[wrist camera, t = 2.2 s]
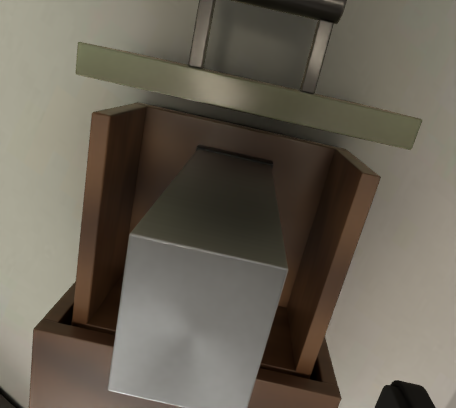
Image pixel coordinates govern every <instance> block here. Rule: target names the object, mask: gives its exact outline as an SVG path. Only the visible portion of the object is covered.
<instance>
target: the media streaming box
mask: <svg viewBox="0 0 456 408" xmlns="http://www.w3.org/2000/svg"><path fill="white" fill-rule="evenodd" d="M0 408H15V407H14V406H13V405H12V404H11V403H9V402H8V401H7V400H6V399H5V398H4V397H3V396H2V395H1V394H0Z"/></svg>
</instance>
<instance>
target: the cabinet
mask: <svg viewBox="0 0 456 408" xmlns="http://www.w3.org/2000/svg"><path fill="white" fill-rule="evenodd" d="M75 285H76V282H75V283H74V284H73V285H72V286H71V287H70V288H69V290H68V291H67V292H66V293H65V294H64V295H63V296H62V297H61V299H60V300H59V301H58V302H57V303H56V304H55V305H54V307H53V308H52V309H51V310H50V311H49V312H48V313H47V314H46V316H45V317H44V318H43V319H42V320H41V321H40V322H39V323H38V324H37V326H36V327H35V328H34V330H33V346H32V364H31V381H30V398H29V408H184V407H180V406H175V405H171V404H166V403H162V402H157V401H153V400H149V399H144V398H140V397H135V396H131V395H126V394H122V393H117V392H113V391H109V390H108V383H109V375H110V368H111V361H112V354H113V347H114V340H115V335H110V334H106V333H101V332H97V331H93V330H88V329H84V328H79V327H75V326H71V323H72V317H73V306H74V296H75ZM340 401H341V395H340V391H339V388H338V386H337V381H336V377H335V374H334V370H333V366H332V362H331V358H330V355H329V351H328V347H327V343H326V339H325V336H324V339H323V342H322V345H321V347H320V350H319V353H318V356H317V359H316V361H315V364H314V367H313V370H312V373H311V376H310V378H309V379H305V378H301V377H297V376H292V375H288V374H283V373H279V372H274V371H270V370H266V369H261V368H259V370H258V374H257V377H256V380H255V384H254V387H253V391H252V394H251V397H250V401H249V404H248V407H247V408H338V406H339V403H340Z"/></svg>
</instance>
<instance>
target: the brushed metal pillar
mask: <svg viewBox="0 0 456 408" xmlns="http://www.w3.org/2000/svg"><path fill="white" fill-rule="evenodd" d="M272 168H273V161H271V160H266V159H262V158H257V157H253V156H249V155H244V154H240V153H235V152H231V151H226V150H222V149H218V148H213V147H209V146H204V145H200V144H199V145H198V146H197V147H196V152H195V154H194V155H193V156H192V157H191V159H190V160H189V161H188V162H187V164H186V165H185V166H184V167H183V169H182V170H181V171H180V172H179V173H178V175H177V176H176V177H175V178H174V180H173V181H172V182H171V183H170V185H169V186H168V187H167V188H166V190H165V191H164V192H163V193H162V195H161V196H160V197H159V198H158V199H157V201H156V202H155V203H154V204H153V206H152V207H151V208H150V209H149V211H148V212H147V213H146V214H145V216H144V217H143V218H142V219H141V221H140V222H139V223H138V224H137V225H136V227H135V228H134V229H133V230H132V232H131V233H130V234H129V241H128V248H127V255H126V262H125V269H124V276H123V284H122V291H121V298H120V305H119V312H118V319H117V326H116V333H115V340H114V347H113V354H112V361H111V368H110V375H109V383H108V390H109V391H113V392H117V393H122V394H126V395H131V396H135V397H140V398H144V399H149V400H153V401H157V402H162V403H166V404H171V405H175V406H180V407H184V408H247V407H248V404H249V401H250V397H251V394H252V391H253V387H254V384H255V380H256V377H257V374H258V370H259V367H260V364H261V360H262V357H263V354H264V350H265V347H266V344H267V340H268V337H269V333H270V330H271V327H272V323H273V320H274V317H275V313H276V310H277V307H278V303H279V300H280V297H281V293H282V290H283V286H284V283H285V280H286V276H287V273H288V265H287V259H286V253H285V247H284V241H283V235H282V229H281V223H280V217H279V211H278V205H277V199H276V193H275V187H274V181H273V175H272Z"/></svg>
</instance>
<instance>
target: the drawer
mask: <svg viewBox="0 0 456 408" xmlns="http://www.w3.org/2000/svg"><path fill="white" fill-rule="evenodd" d="M231 1H235V2H239V3H244V4H248V5H253V6H257V7H262V8H266V9H270V10H275V11H279V12H284V13H288V14H293V15H297V16H301V17H306V18H310V19H315V20H319V21H318V22H317V26H316V30H315V34H314V38H313V41H312V45H311V49H310V53H309V57H308V60H307V64H306V68H305V72H304V76H303V79H302V83H301V87H300V90H296V89H292V88H287V87H283V86H279V85H274V84H270V83H265V82H261V81H256V80H252V79H248V78H243V77H239V76H234V75H230V74H225V73H221V72H217V71H212V70H208V69H203V68H204V62H205V57H206V51H207V46H208V40H209V35H210V29H211V24H212V18H213V13H214V7H215V2H216V0H199V5H198V11H197V17H196V23H195V29H194V35H193V41H192V47H191V53H190V59H189V65H186V64H181V63H177V62H172V61H168V60H164V59H159V58H155V57H150V56H146V55H141V54H137V53H132V52H127V51H122V50H117V49H112V48H107V47H102V46H97V45H92V44H87V43H82V42H78V49H77V61H76V74H77V75H81V76H85V77H90V78H94V79H98V80H103V81H107V82H112V83H116V84H121V85H125V86H129V87H134V88H138V89H143V90H147V91H152V92H156V93H160V94H165V95H169V96H174V97H178V98H183V99H187V100H191V101H196V102H200V103H205V104H209V105H214V106H218V107H222V108H227V109H231V110H236V111H240V112H245V113H249V114H253V115H258V116H262V117H267V118H271V119H276V120H280V121H284V122H289V123H293V124H298V125H302V126H307V127H311V128H315V129H320V130H324V131H329V132H333V133H338V134H342V135H346V136H351V137H355V138H360V139H364V140H369V141H373V142H377V143H382V144H386V145H391V146H395V147H399V148H404V149H408V150H411V149H412V147H413V144H414V142H415V139H416V136H417V133H418V131H419V128H420V125H421V123H422V120H421V119H419V118H415V117H411V116H407V115H403V114H399V113H395V112H391V111H387V110H383V109H379V108H375V107H372V106H367V105H363V104H358V103H354V102H349V101H345V100H341V99H336V98H332V97H327V96H323V95H318V94H314V93H315V89H316V86H317V82H318V78H319V75H320V71H321V68H322V64H323V60H324V57H325V53H326V49H327V46H328V42H329V39H330V35H331V31H332V28H333V24H337V23H338V22H339V20H340V18H341V16H342V14H343V11H344V8H345V5H346V1H347V0H231ZM199 144H200V145H204V146H209V147H213V148H218V149H222V150H226V151H231V152H235V153H240V154H244V155H249V156H253V157H257V158H262V159H266V160H271V161H273V168H272V175H273V181H274V187H275V193H276V199H277V205H278V211H279V217H280V223H281V229H282V235H283V241H284V247H285V253H286V259H287V265H288V273H287V276H286V280H285V283H284V286H283V290H282V293H281V297H280V300H279V303H278V307H277V310H276V313H275V317H274V320H273V323H272V327H271V330H270V333H269V337H268V340H267V344H266V347H265V350H264V354H263V357H262V360H261V364H260V367H259V368H261V369H266V370H270V371H274V372H279V373H283V374H288V375H292V376H297V377H301V378H305V379H309V378H310V376H311V373H312V370H313V367H314V364H315V361H316V359H317V356H318V353H319V350H320V347H321V345H322V342H323V339H324V336H325V333H326V330H327V328H328V325H329V322H330V319H331V316H332V314H333V311H334V308H335V305H336V302H337V299H338V297H339V294H340V291H341V288H342V285H343V282H344V280H345V277H346V274H347V271H348V268H349V266H350V263H351V260H352V257H353V254H354V251H355V249H356V246H357V243H358V240H359V237H360V235H361V232H362V229H363V226H364V223H365V220H366V218H367V215H368V212H369V209H370V206H371V204H372V201H373V198H374V195H375V192H376V189H377V187H378V184H379V181H380V178H381V177H380V176H379V175H377V174H376V173H375V172H374V171H373V170H371V169H370V168H369V167H368V166H366V165H365V164H364V163H363V162H361V161H360V160H359V159H358V158H356V157H355V156H354V155H353V154H351V153H350V152H349V151H347V150H346V149H343V148H338V147H334V146H329V145H325V144H321V143H316V142H312V141H307V140H303V139H298V138H294V137H290V136H285V135H281V134H276V133H272V132H267V131H263V130H259V129H254V128H250V127H245V126H241V125H236V124H232V123H228V122H223V121H219V120H214V119H210V118H205V117H201V116H197V115H192V114H188V113H183V112H179V111H174V110H170V109H166V108H161V107H157V106H152V105H148V104H143V103H139V102H137V103H133V104H128V105H124V106H119V107H114V108H110V109H105V110H100V111H96V112H93V113H92V119H91V130H90V140H89V150H88V161H87V171H86V182H85V192H84V202H83V213H82V223H81V233H80V244H79V254H78V265H77V275H76V285H75V296H74V306H73V317H72V323H71V326H75V327H79V328H84V329H88V330H93V331H97V332H101V333H106V334H110V335H115V333H116V326H117V319H118V312H119V305H120V298H121V291H122V284H123V276H124V269H125V262H126V255H127V248H128V241H129V234H130V233H131V232H132V230H133V229H134V228H135V227H136V225H137V224H138V223H139V222H140V221H141V219H142V218H143V217H144V216H145V214H146V213H147V212H148V211H149V209H150V208H151V207H152V206H153V204H154V203H155V202H156V201H157V199H158V198H159V197H160V196H161V195H162V193H163V192H164V191H165V190H166V188H167V187H168V186H169V185H170V183H171V182H172V181H173V180H174V178H175V177H176V176H177V175H178V173H179V172H180V171H181V170H182V169H183V167H184V166H185V165H186V164H187V162H188V161H189V160H190V159H191V157H192V156H193V155H194V154H195V152H196V147H197V146H198V145H199Z"/></svg>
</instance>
